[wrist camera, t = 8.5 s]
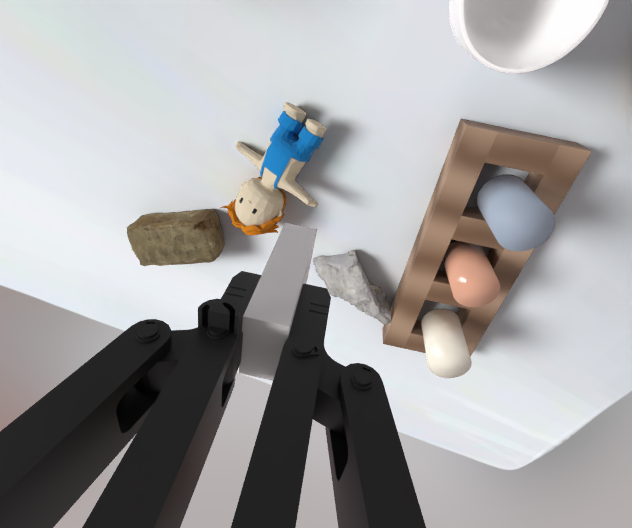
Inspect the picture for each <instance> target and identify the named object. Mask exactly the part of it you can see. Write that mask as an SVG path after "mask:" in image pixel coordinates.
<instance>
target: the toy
mask: <svg viewBox="0 0 632 528" xmlns="http://www.w3.org/2000/svg"><path fill="white" fill-rule="evenodd" d="M284 109H285V111H283V113H282V114H281V116H280V117H279V119H278V121H279V123H280V126H279V127H278V128H277V130H276V131H275V132H274V133H273V135H272V137H271V138H270V143H269V145H268V148H267V150H266V152H265V154H264V157H263V156H261V155H260V154H258V153H256V152H255V151H253V150H251V149H250V148H248V147H247V146H245V145H244V144H243V143H241V142H237V143H236V148H237V150H239V151H240V152H241V153H242V154H244V155H245V156H246V157H247V158H248V159H249V160H250V161H251V162H252V163H253V164H254V165H255V166H256V167H257V168H258V170H259V171H260V174H261V177H262V178H261V177H258V178H252V179H251V180H249V181H248V182H243V183H242V188H241V190H240V192H239V194H238V196H237V198H236V199H235V200H234V202H233V201H232V202H231V203H230V204H229V205H228V206H223V207H221V208H227V209H228V214H229V216H230V218H231V219H232V224H233V225H234V226H235V227H237V228H241V229H242V231H243V232H244V233H245V234H246V235H258V234H264V233H272V232H277V233H278V231H277V230H274V229H276V228H278V226H277V225H276V224H277V223H278V222H280V220H281V219H282V217H283V216H284V214H282V212H283V209H284V207H285V205H286V196H285V194H284V192H283V190H282V189H284V190H286V191H288V192H289V193H291V194H293V195H294V196H296V197H297V198H299V199H300V200H301V201H303V202H304V203H305V204H306V205H309V206H312V207H316V206H318V203H317V202H316V201H315V200H314V199H312V198H311V197H310V196H309V195H308V194H307V193H306V192H305V191H304V190H303V189H302V188H301V187H300V185H299V184H298V183H297V182H296V181H295V178H296V176H297V174H298V173H299V172H300V170H301V169H302V167H303V166H304V164H305V163H306V162H308V161H309V159H310V157H311V154H312V152H313V151H314V149H315V148H319V146H320V144H321V142H322V140H323V138H322V136H323V135H324V133H325V131H326V130H327V128H326V127H324V126H323V125H322V124H320V123H319V122H317V121H315V120H313V119H307V121H306V123H305V124H306V126H304V127H303V129H302V130H301V128H302V126H303V120H304V118H305V116H306V112H304V111H303V110H302V109H300V108H299V107H297V106H295V105H293V104H290V103H287V102H285V104H284ZM300 130H301V132H300ZM299 132H300V133H299ZM296 133H298V134H299V135H298V136H299V139H298V140H296ZM232 203H233V204H232ZM276 222H277V223H276ZM274 223H275V224H274Z"/></svg>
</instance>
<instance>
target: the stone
mask: <svg viewBox="0 0 632 528" xmlns="http://www.w3.org/2000/svg"><path fill="white" fill-rule="evenodd" d="M313 263H314V265H315V268H316V272H317V273H318V276H319V277H320V278H321V279H323V280H324V281H325V284H326V287H327V290H328V292H329V294H331V295H332V296H334V297H340V298H341V299H344V300H345V301H347V302H349V303H350V304H351V305H355V307H357V309H358V310H361V311H362V312H365V314H367V315H369V316H371V317H374V318H376V319H378V320H379V321H380V322H381V323H383V324H388V323H390V322H391V312H390V311H389V310H388V309H387V308H388V305H389V304H388V302H387V301H386V294H385V293H383V292H381V288H380V287H377V286H375V285H372V284H370V283H368V280H367V277H366V275H365V273H364V271H363V268H362V266H361V264H360V263H359V261H358V258H357V255H356V252H355V250H354V251H352V250H351V251H348V254H343V255H333V256H318V257H316V258H314V259H313Z"/></svg>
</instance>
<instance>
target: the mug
mask: <svg viewBox="0 0 632 528" xmlns="http://www.w3.org/2000/svg"><path fill="white" fill-rule="evenodd" d="M608 2H609V0H450V5H449V17H450V24H451V28H452V32H453V34H454V37H455V39H456V41H457V42H458V44H459V45H460V47H461V48H462V49H463V50H464V51H465V52H466V53H467V54H468V55H470V56H471V57H472V58H474V59H475V60H477V61H479V62H481V63H482V64H484V65H486V66H488V67H490V68H492V69H494V70H496V71H500V72H505V73H525V72H530V71H534V70H538V69H541V68H543V67H546V66H548V65H550V64H552V63H554V62H556V61H557V60H559V59H561V58H562V57H564V56H565V55H566V54H568V53H569V52H570V51H572V50H573V49H574V48H575V47H576V46H577V45H578V44H580V43H581V42H582V41H583V39H584V38H585V37H586V36H587V35H588V34H589V33H590V32H591V30H592V29H593V28H594V26H595V25H596V23H597V22H598V21H599V19H600V17H601V16H602V14H603V12H604V10H605V9H606V7H607V5H608Z"/></svg>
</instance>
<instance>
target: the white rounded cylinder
mask: <svg viewBox="0 0 632 528" xmlns="http://www.w3.org/2000/svg"><path fill="white" fill-rule="evenodd" d="M421 325H422V332H423V338H424V344H425V351H426V357H427V364H428V368H429V370H430V371H431V372H432V373H433V374H435V375H437V376H439V377H443V378H454V377H458V376H461V375H463V374H465V373H466V372H467V371H468V370H469V369H470V367H471V358H470V355H469V351H468V348H467V344H466V341H465V337H464V334H463V330H462V327H461V323H460V320H459V317H458V316H457V314H456V313H454V312H453V311H451V310H448V309H435V310H432V311H430V312H428V313H427V314H426V315H425V316H424V317H423V319H422V321H421Z"/></svg>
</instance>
